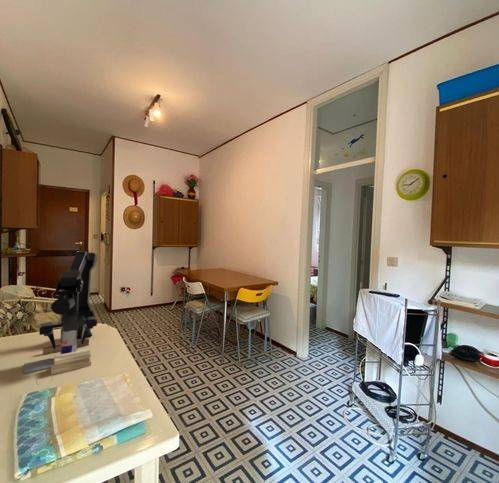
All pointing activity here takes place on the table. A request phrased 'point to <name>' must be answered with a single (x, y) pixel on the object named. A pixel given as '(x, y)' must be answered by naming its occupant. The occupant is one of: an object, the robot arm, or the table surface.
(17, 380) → the table surface
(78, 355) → the offcut stack
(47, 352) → the walnut back board
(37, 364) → the slate pad
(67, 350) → the energy drink
